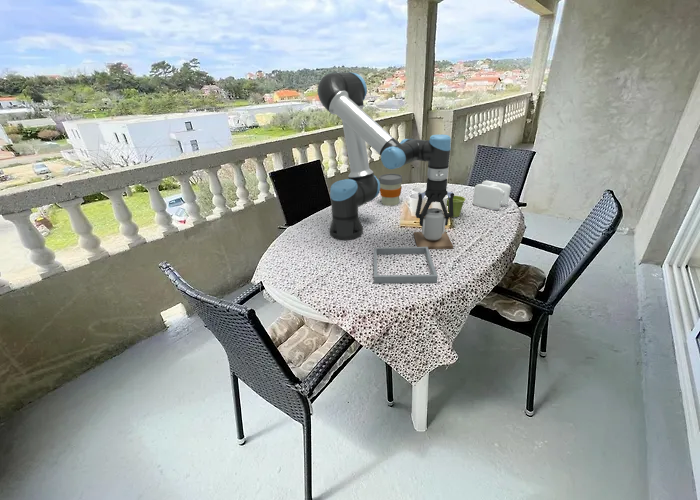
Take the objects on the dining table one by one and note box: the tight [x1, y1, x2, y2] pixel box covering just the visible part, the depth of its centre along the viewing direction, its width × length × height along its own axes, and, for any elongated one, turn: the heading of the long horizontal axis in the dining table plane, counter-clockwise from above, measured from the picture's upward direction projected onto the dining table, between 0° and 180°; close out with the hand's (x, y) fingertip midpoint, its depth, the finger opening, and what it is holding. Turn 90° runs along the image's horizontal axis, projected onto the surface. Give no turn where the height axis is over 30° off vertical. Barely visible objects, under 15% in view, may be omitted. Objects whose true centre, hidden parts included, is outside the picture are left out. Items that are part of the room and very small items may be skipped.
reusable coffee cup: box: [378, 173, 403, 207], centre depth 171 cm, size 13×12×15 cm
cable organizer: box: [472, 179, 511, 211], centre depth 161 cm, size 15×11×12 cm
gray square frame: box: [373, 246, 438, 284], centre depth 114 cm, size 21×21×2 cm
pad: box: [412, 230, 454, 250], centre depth 131 cm, size 14×14×1 cm
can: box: [423, 207, 445, 240], centre depth 128 cm, size 8×8×12 cm
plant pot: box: [446, 195, 466, 218], centre depth 153 cm, size 9×9×9 cm
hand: (432, 232), depth 129 cm, fingers closed on can, 7 cm apart
